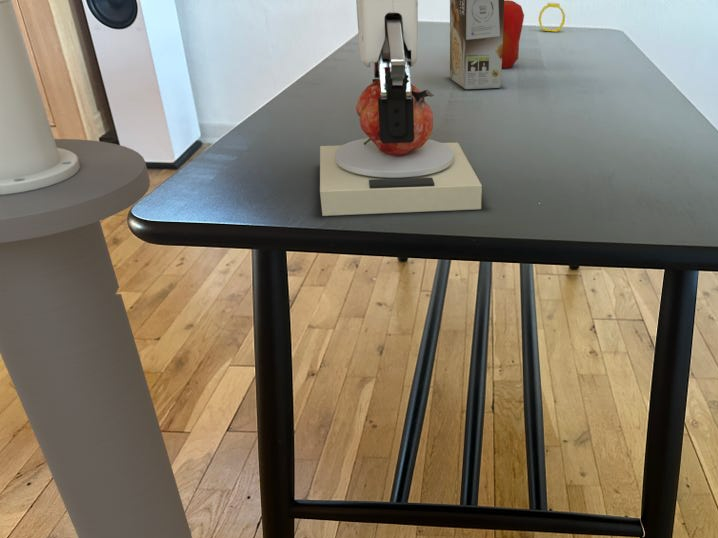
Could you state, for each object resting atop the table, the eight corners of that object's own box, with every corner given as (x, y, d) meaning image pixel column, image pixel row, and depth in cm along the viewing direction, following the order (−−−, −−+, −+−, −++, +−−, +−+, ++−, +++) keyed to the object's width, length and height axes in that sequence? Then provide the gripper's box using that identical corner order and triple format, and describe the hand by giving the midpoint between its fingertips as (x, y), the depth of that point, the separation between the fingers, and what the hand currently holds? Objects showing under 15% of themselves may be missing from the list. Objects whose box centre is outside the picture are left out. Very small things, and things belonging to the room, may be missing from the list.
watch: (538, 32, 161) (540, 3, 157) (537, 30, 163) (539, 2, 160) (564, 32, 161) (566, 4, 158) (562, 30, 163) (565, 2, 160)
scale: (322, 216, 64) (318, 181, 62) (322, 167, 75) (319, 137, 73) (481, 209, 66) (482, 175, 65) (457, 163, 78) (458, 134, 76)
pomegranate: (352, 179, 69) (412, 132, 62) (322, 110, 69) (379, 56, 62) (404, 170, 74) (464, 126, 67) (377, 106, 74) (435, 55, 67)
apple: (498, 59, 130) (500, -11, 124) (531, 66, 126) (535, -6, 119) (465, 65, 125) (466, -9, 119) (498, 72, 120) (501, -4, 114)
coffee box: (502, 88, 110) (507, -27, 101) (464, 90, 108) (466, -27, 99) (483, 76, 117) (486, -32, 108) (447, 78, 116) (447, -32, 107)
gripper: (338, -85, 65) (352, 109, 75) (343, -80, 51) (359, 158, 61) (417, -82, 67) (420, 108, 76) (443, -77, 52) (443, 156, 62)
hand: (393, 129), depth 68 cm, fingers closed on pomegranate, 7 cm apart
